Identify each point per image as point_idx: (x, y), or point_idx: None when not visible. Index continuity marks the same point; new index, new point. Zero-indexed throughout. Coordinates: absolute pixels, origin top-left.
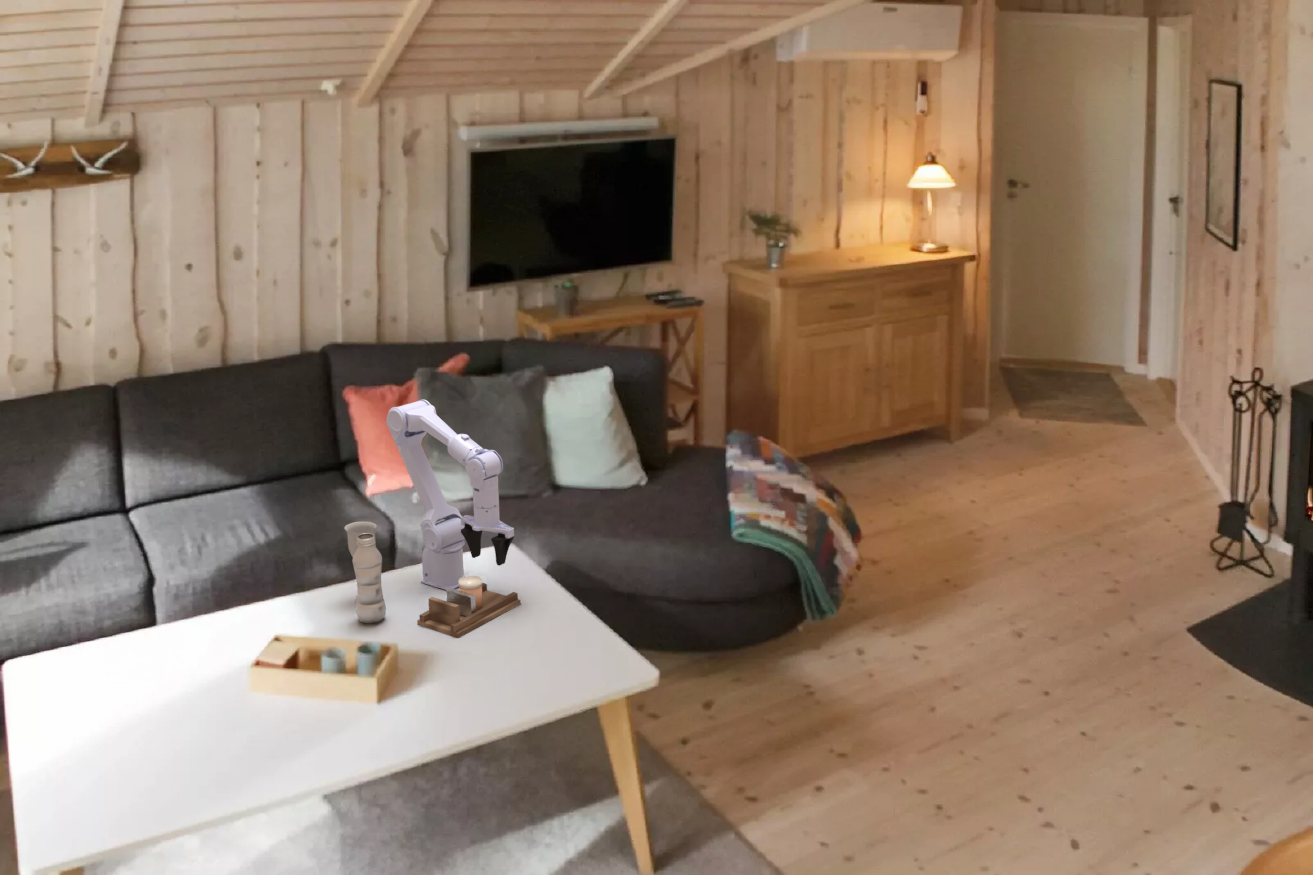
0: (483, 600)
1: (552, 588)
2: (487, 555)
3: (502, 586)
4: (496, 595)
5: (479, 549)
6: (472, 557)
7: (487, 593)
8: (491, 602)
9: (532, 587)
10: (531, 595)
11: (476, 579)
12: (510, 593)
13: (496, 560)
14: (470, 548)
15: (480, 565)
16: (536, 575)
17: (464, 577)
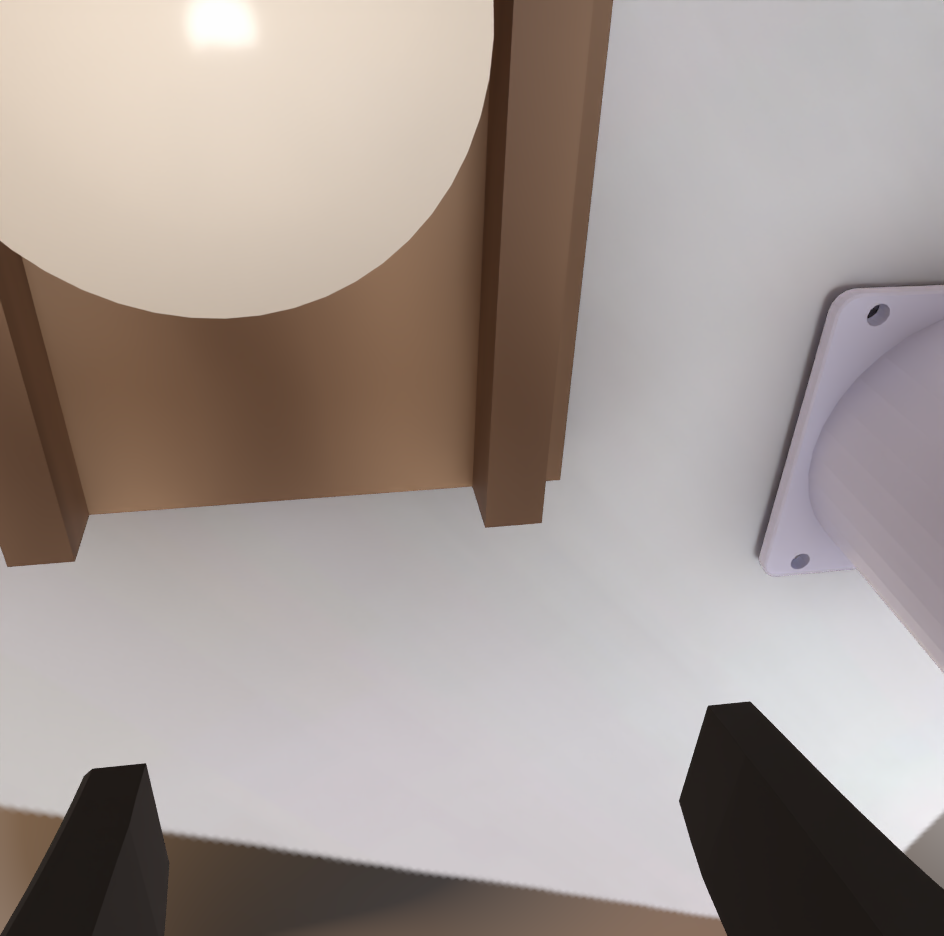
0: None
1: None
2: None
3: (455, 628)
4: (291, 453)
5: (726, 894)
6: (746, 703)
7: (410, 434)
8: None
9: (227, 743)
10: (96, 658)
11: (102, 162)
12: (61, 516)
13: (106, 846)
14: (856, 845)
15: (829, 738)
16: (369, 853)
17: (437, 86)
